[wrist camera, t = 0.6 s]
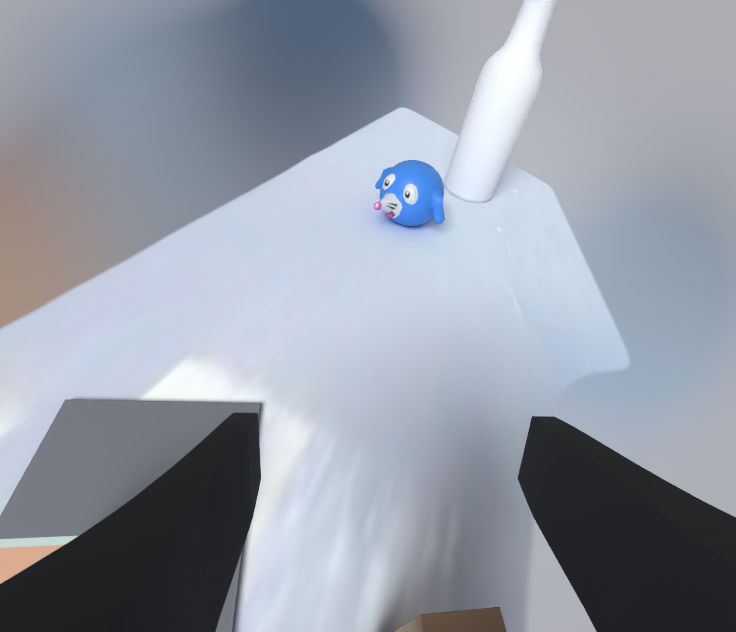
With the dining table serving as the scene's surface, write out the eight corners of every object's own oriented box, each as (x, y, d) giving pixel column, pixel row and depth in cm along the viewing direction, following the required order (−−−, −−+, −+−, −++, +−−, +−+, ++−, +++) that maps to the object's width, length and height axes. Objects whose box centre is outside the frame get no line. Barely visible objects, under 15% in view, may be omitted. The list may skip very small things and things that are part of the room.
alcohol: (496, 193, 68) (593, -27, 48) (483, 210, 62) (589, -35, 41) (451, 176, 70) (527, -42, 50) (435, 190, 64) (514, -52, 44)
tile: (152, 611, 19) (113, 577, 14) (37, 620, 18) (-45, 587, 13) (160, 575, 20) (127, 533, 15) (53, 582, 19) (-18, 539, 14)
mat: (229, 649, 19) (229, 648, 18) (-87, 682, 16) (-93, 682, 16) (260, 406, 29) (260, 403, 28) (67, 402, 26) (65, 399, 26)
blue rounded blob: (337, 215, 52) (346, 154, 46) (391, 196, 59) (404, 141, 53) (403, 259, 47) (422, 196, 41) (453, 232, 54) (474, 176, 49)
